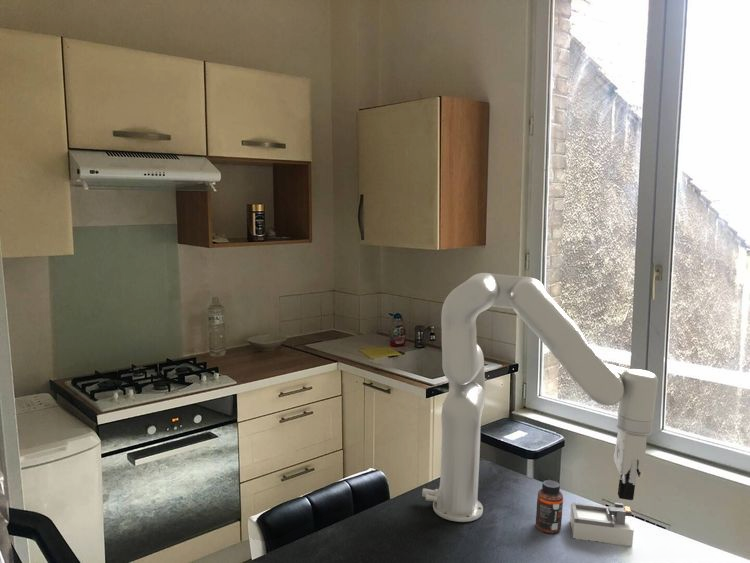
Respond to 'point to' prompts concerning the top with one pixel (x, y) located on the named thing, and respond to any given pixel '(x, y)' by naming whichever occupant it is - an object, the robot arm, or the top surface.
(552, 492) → the supplement bottle
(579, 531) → the box
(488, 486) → the top surface
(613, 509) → the breaker lever
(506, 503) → the top surface
